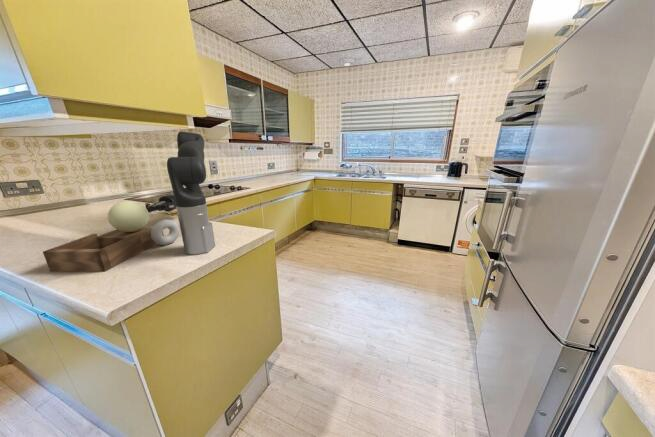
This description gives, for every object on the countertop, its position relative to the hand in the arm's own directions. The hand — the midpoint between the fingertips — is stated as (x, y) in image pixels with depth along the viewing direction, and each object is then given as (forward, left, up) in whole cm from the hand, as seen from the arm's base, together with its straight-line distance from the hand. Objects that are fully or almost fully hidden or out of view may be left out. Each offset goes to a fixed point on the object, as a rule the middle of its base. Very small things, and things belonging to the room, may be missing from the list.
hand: (144, 210), depth 94 cm
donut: (-14, +9, -11) cm, 20 cm away
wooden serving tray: (0, +17, -11) cm, 20 cm away
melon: (0, +8, 0) cm, 8 cm away
